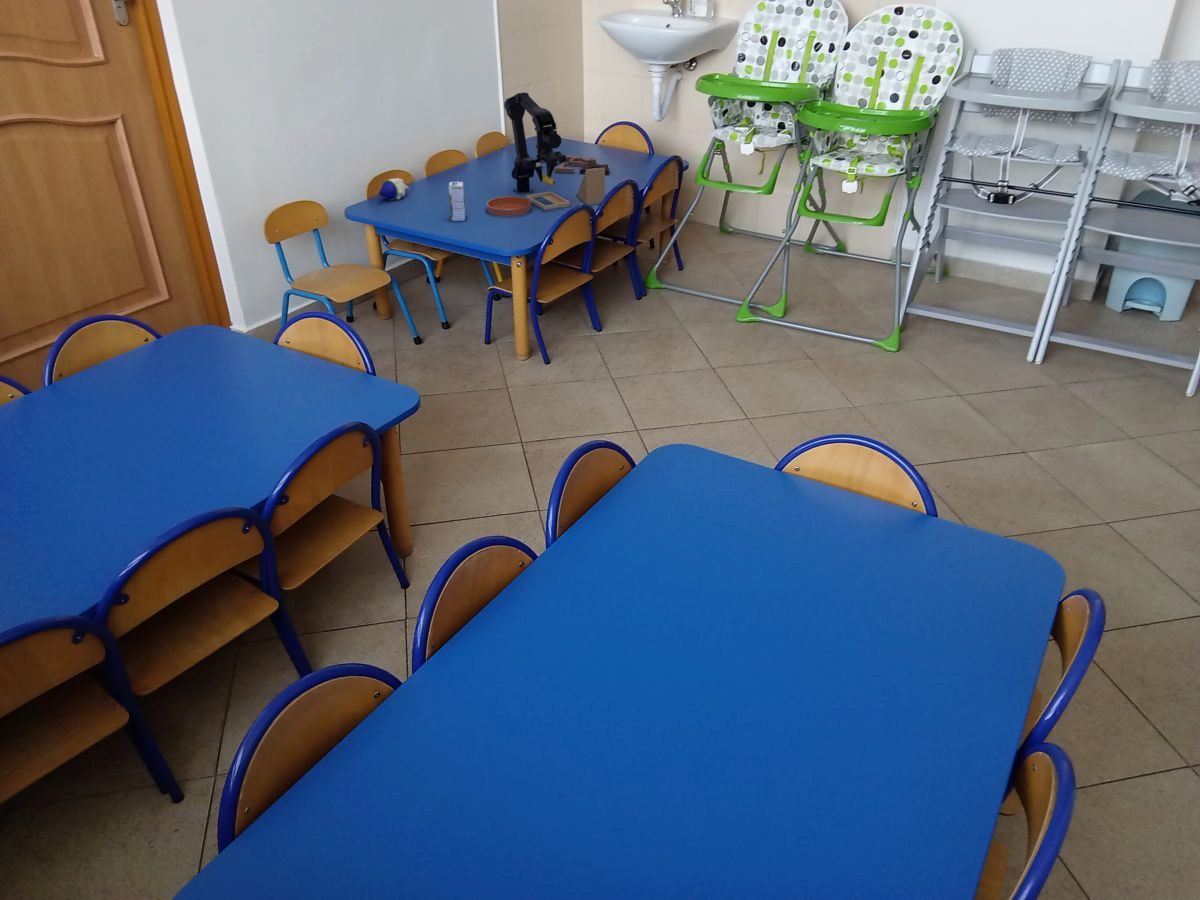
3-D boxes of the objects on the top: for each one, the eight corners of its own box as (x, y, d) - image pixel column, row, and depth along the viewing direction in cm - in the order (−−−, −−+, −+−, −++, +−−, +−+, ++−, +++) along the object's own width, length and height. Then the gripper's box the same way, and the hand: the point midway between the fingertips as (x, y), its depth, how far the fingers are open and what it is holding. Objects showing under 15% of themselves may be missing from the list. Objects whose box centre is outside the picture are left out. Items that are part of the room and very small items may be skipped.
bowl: (480, 208, 379) (479, 200, 377) (518, 201, 387) (518, 193, 385) (498, 220, 365) (498, 212, 364) (538, 212, 373) (538, 205, 372)
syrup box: (451, 216, 369) (448, 181, 361) (466, 216, 369) (463, 181, 362) (451, 221, 364) (447, 185, 356) (465, 220, 365) (462, 185, 357)
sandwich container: (594, 192, 397) (594, 158, 388) (605, 202, 384) (605, 167, 376) (576, 194, 394) (575, 160, 386) (586, 204, 382) (585, 169, 374)
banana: (535, 180, 382) (535, 172, 380) (542, 178, 384) (542, 171, 382) (548, 186, 374) (548, 179, 372) (555, 185, 375) (555, 177, 374)
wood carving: (608, 175, 420) (616, 161, 439) (608, 170, 419) (616, 157, 438) (550, 172, 424) (560, 159, 444) (550, 167, 423) (560, 155, 442)
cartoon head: (411, 199, 398) (384, 210, 383) (395, 185, 399) (367, 196, 383) (418, 183, 393) (391, 194, 377) (402, 170, 394) (374, 180, 378)
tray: (525, 200, 388) (525, 195, 387) (550, 195, 393) (550, 191, 392) (544, 211, 375) (544, 206, 374) (569, 206, 380) (569, 201, 379)
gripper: (532, 150, 360) (534, 189, 369) (572, 144, 368) (573, 182, 377) (520, 144, 368) (522, 182, 377) (559, 138, 376) (560, 175, 385)
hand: (545, 180), depth 378 cm, fingers closed on banana, 3 cm apart
